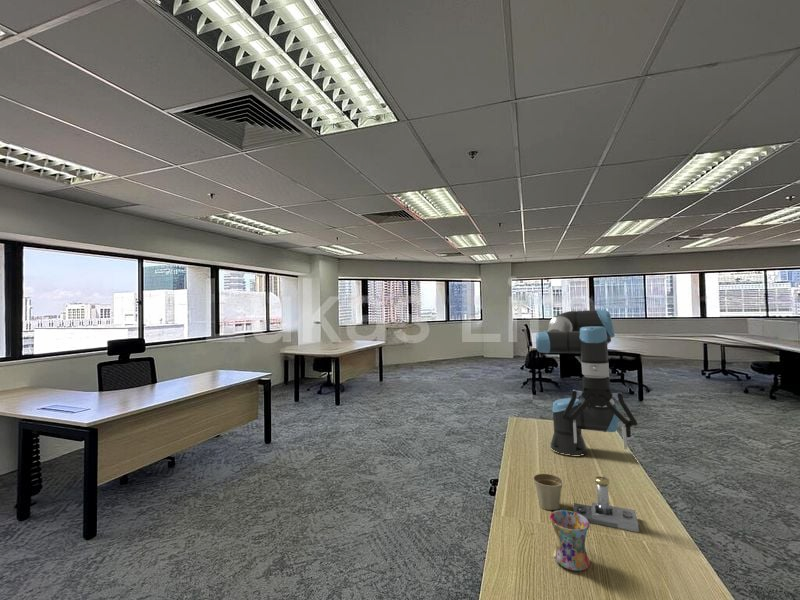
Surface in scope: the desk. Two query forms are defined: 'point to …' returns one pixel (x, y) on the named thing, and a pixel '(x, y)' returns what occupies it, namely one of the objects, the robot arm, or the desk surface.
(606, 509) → the pin
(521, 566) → the desk surface
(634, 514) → the grey slotted base plate
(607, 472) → the desk surface
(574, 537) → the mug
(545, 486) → the flower pot
